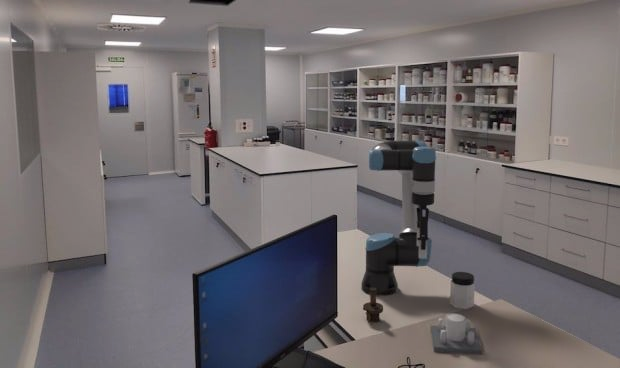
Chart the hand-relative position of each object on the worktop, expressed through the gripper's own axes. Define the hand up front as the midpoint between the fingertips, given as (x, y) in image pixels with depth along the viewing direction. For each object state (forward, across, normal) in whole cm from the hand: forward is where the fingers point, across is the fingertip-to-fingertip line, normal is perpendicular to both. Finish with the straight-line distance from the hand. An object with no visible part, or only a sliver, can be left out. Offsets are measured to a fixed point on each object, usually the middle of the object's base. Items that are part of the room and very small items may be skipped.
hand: (421, 251), depth 175 cm
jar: (+27, -18, +17) cm, 37 cm away
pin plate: (+27, +12, +11) cm, 31 cm away
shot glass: (+25, +12, +11) cm, 30 cm away
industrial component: (+27, -1, -16) cm, 31 cm away
